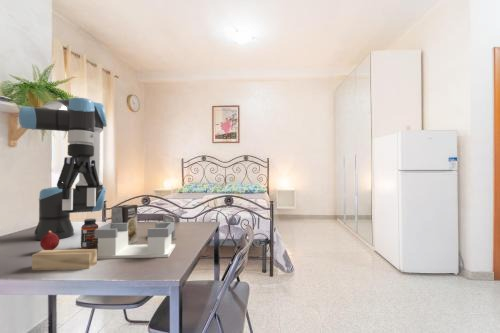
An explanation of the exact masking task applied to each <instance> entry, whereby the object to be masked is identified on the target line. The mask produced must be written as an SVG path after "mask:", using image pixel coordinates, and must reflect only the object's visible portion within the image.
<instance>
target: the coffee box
mask: <svg viewBox="0 0 500 333" xmlns="http://www.w3.org/2000/svg"><path fill="white" fill-rule="evenodd" d="M110 218H111V219H110V223H128V245H133V244H135V243H137V242H138V204H123V205H116V206H111V216H110Z"/></svg>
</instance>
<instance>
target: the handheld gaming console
mask: <svg viewBox="0 0 500 333" xmlns="http://www.w3.org/2000/svg"><path fill="white" fill-rule="evenodd" d="M162 216H163V218H162V222H175V223H176V220H175V217H174V216H170V215H168V214H163V215H162ZM146 237H147V239H148V234H147V235H146ZM176 240H177V237H176V227H175V228H174V231H173V232H172V233H171V241H176Z"/></svg>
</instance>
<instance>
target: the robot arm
mask: <svg viewBox="0 0 500 333" xmlns="http://www.w3.org/2000/svg"><path fill="white" fill-rule="evenodd" d="M106 118H107V117H106V110H105V105H104V104H103V103H100V102H95V101H94V100H91V99H89V98H85V97H71V98H70V99H57V100H52V101H48V102H46V103H45V104H44V105H43V106H39V107H34V106H33V107H32V106H22V107H20V109H19V110H18V122H19V125H20V126H21V128H23V129H25V130H26V129H27V130H32V131H34V130H38V131H39V130H40V131H58V132H67V143H68V145H67V156H68V157H67V156H65V157H64V161H63V165H62V169H61V171H60V175H59V177H58V179H57V182H56V186H53V187H47V188H46V187H45V188H42V189H41V190H40V192H39V195H38V196H39V198H38V205H39V206H38V213H39V214H38V223H37V225H36V228H35V230H34V233H33V240H36V241H41V239H42V238H43V237H44V236H45V235H46V234H48V231H51V232H52V233H54V234H56V235H57V236H58V238H59V240H60V239H65V238H69V237H72V236H73V235H74V234H75V229H74V227H73V224H72V222H71V219H70V216H71V215H70V214H72V213H73V214H75V213H77V214H78V213H89V212H90V213H94V212H100V211H102V210H103V209H104V205H105V204H104V203H105V197H106V191H107V190H106V189H107V188H106V187H104V185H103V182H101V181H100V159H101V158H100V156H101V154H100V153H101V152H100V150H101V146H100V143H101V133H102V132H103V131H104V128H106V127H107V119H106ZM78 175H79V176H78ZM77 177H78V181H77V182H76V183H75V181H76V180H77ZM74 183H75V187H74V188H72V187H73V185H74Z"/></svg>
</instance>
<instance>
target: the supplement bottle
mask: <svg viewBox="0 0 500 333" xmlns="http://www.w3.org/2000/svg"><path fill="white" fill-rule="evenodd" d="M96 220H97V219H96V218H85V219H84V224H82V226H81V232H80V248H81V249H97V248H98V238H95V229H98V228H99V225H98V223H96V222H97V221H96Z"/></svg>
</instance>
